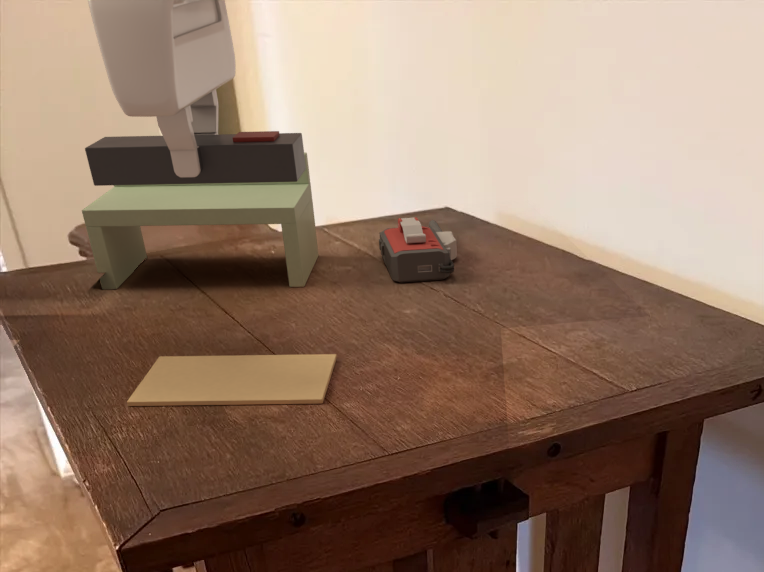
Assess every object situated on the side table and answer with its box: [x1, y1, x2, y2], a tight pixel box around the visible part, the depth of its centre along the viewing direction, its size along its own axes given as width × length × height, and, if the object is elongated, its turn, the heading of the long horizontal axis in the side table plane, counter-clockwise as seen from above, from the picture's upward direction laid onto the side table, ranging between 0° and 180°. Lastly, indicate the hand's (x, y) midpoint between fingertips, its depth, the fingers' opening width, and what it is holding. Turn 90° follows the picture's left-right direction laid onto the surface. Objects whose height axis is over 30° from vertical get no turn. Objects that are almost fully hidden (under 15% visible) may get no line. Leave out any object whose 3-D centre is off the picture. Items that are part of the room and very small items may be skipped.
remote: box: [84, 130, 306, 187], centre depth 68 cm, size 15×4×3 cm, turn 90°
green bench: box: [81, 151, 319, 290], centre depth 100 cm, size 22×12×11 cm, turn 90°
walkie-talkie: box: [378, 216, 458, 284], centre depth 106 cm, size 9×4×20 cm
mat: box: [126, 353, 338, 407], centre depth 79 cm, size 16×10×1 cm, turn 90°
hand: (199, 167), depth 68 cm, fingers closed on remote, 4 cm apart
